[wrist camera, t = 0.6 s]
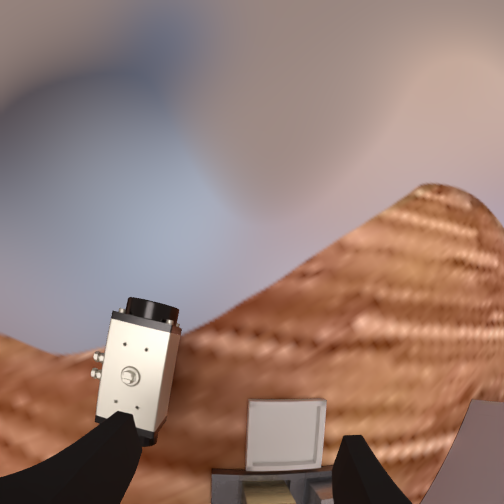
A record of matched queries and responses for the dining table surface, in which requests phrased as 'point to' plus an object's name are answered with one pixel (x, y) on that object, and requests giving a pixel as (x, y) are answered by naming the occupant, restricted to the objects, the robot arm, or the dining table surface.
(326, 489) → the grey rectangular block
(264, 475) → the rail
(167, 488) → the dining table surface
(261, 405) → the tray
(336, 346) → the dining table surface
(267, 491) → the tan rectangular block
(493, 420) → the game console
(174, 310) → the pneumatic valve
